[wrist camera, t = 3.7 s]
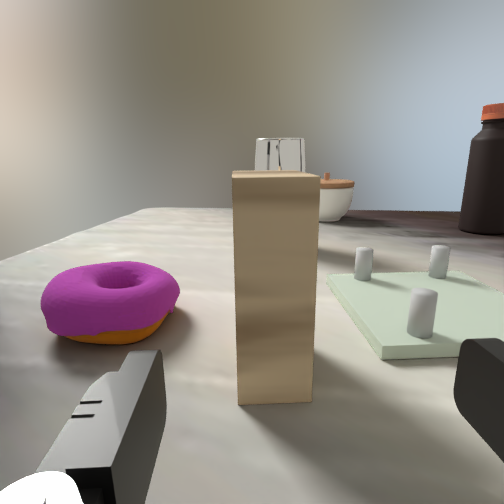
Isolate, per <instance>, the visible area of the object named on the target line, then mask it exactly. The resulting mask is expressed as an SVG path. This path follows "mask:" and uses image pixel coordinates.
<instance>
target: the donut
mask: <svg viewBox="0 0 504 504" xmlns="http://www.w3.org/2000/svg"><path fill="white" fill-rule="evenodd" d="M179 294H180V289H179V286H178V283H177V282H176V280H175V279H174V278H173V277H172V276H171V275H170V274H169V273H167V272H165V271H163V270H162V269H160V268H157V267H154V266H151V265H148V264H145V263H140V262H131V261H124V262H110V263H101V264H93V265H87V266H81V267H76V268H72V269H69V270H66V271H64V272H62V273H60V274H58V275H57V276H55V277H54V278H53V279H52V280H51V281H50V282H49V283H48V285H47V286H46V288H45V290H44V292H43V294H42V297H41V310H42V312H43V314H44V316H45V319H46V323H47V327H48V329H49V330H50V331H51V332H53V333H55V334H57V335H60V336H65V337H67V338H69V339H72V340H76V341H79V342H87V343H97V344H129V343H134V342H137V341H141V340H143V339H145V338H146V337H148V336H150V335H151V334H152V333H153V332H154V331H155V330H157V328H158V327H159V326H160V325H161V323H162V322H163V320H164V319H165V317H166V316H167V315H168V313H169V312H170V313H173V308H174V305H175V303H176V300H177V298H178V296H179Z"/></svg>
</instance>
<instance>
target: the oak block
mask: <svg viewBox="0 0 504 504" xmlns="http://www.w3.org/2000/svg"><path fill="white" fill-rule="evenodd" d="M320 182H321V177H320V176H316V175H313V174H309V173H305V172H301V171H297V170H263V171H233V172H232V197H233V198H232V199H233V236H234V274H235V311H236V348H237V386H238V405H252V404H275V403H298V402H312V380H313V355H314V330H315V306H316V281H317V256H318V232H319V207H320Z"/></svg>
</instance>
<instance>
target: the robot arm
mask: <svg viewBox="0 0 504 504" xmlns="http://www.w3.org/2000/svg"><path fill="white" fill-rule="evenodd" d="M454 399H455V403H456V405H457V408H458V410H459V412H460V413H461V414H462V416H463V417H464V418H465V419H466V420H467V421H468V423H469V424H470V425H471V426H472V427H473V428H474V429H475V430H476V432H477V433H478V434H479V435H480V436H481V437H482V438H483V439H484V441H485V442H486V443H487V444H488V445H489V446H490V447H491V448H492V450H493V451H494V452H495V453H496V454H497V455H498V456H499V458H500V459H501V460H502V461H503V462H504V342H503V341H502V340H500V339H498V338H476V339H466V340H464V341H463V342H462V344H461V346H460V352H459V358H458V364H457V371H456V377H455V384H454ZM166 409H167V405H166V391H165V381H164V370H163V359H162V353H161V351H160V350H141V351H130V352H129V353H128V355H127V357H126V358H125V360H124V362H123V364H122V366H121V368H120V369H119V371H117V372H107V373H105V374H104V375H103V376H102V377H100V378H99V379H98V380H97V381H95V382H94V383H93V384H92V385H90V387H89V388H88V390H87V392H86V393H85V395H84V396H83V398H82V399H81V401H80V404H79V405H78V406H77V407H76V409H75V410H74V412H73V414H72V417H71V419H69V420H68V421H67V423H66V424H65V426H64V428H63V429H62V431H61V432H60V434H59V435H58V437H57V439H56V440H55V442H54V443H53V445H52V446H51V448H50V450H49V451H48V453H47V454H46V456H45V457H44V459H43V461H42V462H41V464H40V465H39V467H38V468H37V470H36V471H35V473H34V475H32V476H28V477H26V478H24V479H21V480H19V481H17V482H15V483H14V484H12V485H10V486H8V487H7V488H5V489H4V490H2V491H1V492H0V504H145V500H146V496H147V492H148V489H149V485H150V481H151V477H152V473H153V469H154V466H155V462H156V458H157V454H158V450H159V447H160V443H161V439H162V435H163V431H164V427H165V422H166Z"/></svg>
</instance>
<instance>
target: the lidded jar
mask: <svg viewBox="0 0 504 504" xmlns="http://www.w3.org/2000/svg"><path fill="white" fill-rule="evenodd" d="M353 187H354V181H351V180H342V179H330V173H325V175H324V179H321V182H320V207H319V221H323V222H331V221H338V220H340V218H341V217H342V216H343V215H344V214H345V213H346V212H347V211H348V209H349V207H350V205H351V202H352V197H353Z"/></svg>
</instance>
